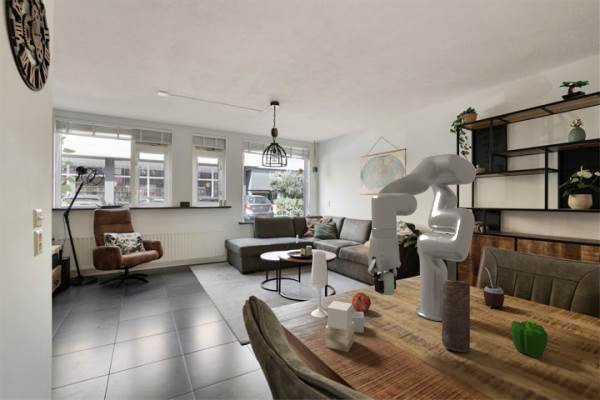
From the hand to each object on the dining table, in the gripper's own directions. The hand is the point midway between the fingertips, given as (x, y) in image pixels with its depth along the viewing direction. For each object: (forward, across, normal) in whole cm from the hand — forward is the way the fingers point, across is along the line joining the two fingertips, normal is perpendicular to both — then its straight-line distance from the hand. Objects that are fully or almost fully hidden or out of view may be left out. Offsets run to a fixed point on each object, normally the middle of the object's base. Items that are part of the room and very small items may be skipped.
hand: (385, 289), depth 88 cm
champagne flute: (+16, +6, -27) cm, 32 cm away
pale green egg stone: (+1, 0, 0) cm, 1 cm away
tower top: (+10, +14, -6) cm, 18 cm away
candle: (+17, -12, +15) cm, 26 cm away
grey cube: (+16, +3, -11) cm, 19 cm away
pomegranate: (+17, -10, -20) cm, 28 cm away
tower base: (+16, +14, -6) cm, 22 cm away
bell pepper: (+17, -28, +28) cm, 43 cm away
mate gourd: (+18, -57, +8) cm, 61 cm away
